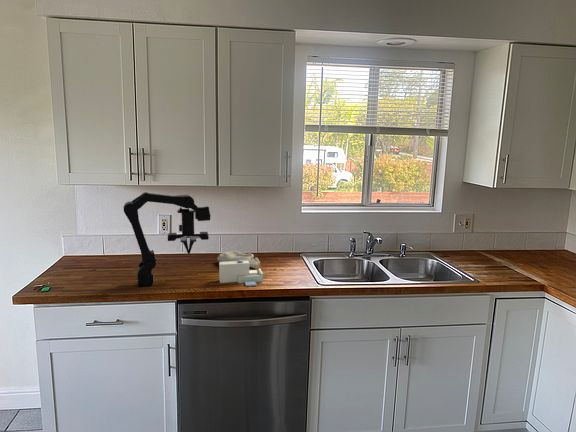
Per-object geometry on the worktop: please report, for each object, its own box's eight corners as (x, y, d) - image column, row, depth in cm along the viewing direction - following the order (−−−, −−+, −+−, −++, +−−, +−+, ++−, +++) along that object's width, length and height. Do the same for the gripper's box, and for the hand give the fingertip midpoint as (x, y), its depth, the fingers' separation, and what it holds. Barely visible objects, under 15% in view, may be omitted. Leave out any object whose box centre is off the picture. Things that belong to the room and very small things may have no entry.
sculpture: (219, 270, 234) (213, 270, 220) (218, 251, 236) (213, 249, 221) (262, 268, 233) (259, 268, 219) (262, 249, 235) (259, 247, 220)
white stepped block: (220, 282, 200) (219, 263, 198) (219, 279, 204) (219, 260, 202) (257, 280, 204) (257, 261, 202) (256, 277, 208) (256, 258, 207)
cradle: (239, 287, 195) (239, 278, 194) (234, 274, 213) (234, 266, 213) (265, 285, 197) (265, 277, 197) (258, 272, 216) (258, 265, 215)
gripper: (207, 218, 208) (207, 248, 211) (168, 219, 204) (169, 250, 207) (208, 222, 198) (208, 254, 200) (167, 223, 193) (168, 256, 196)
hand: (188, 253), depth 201 cm, fingers closed
